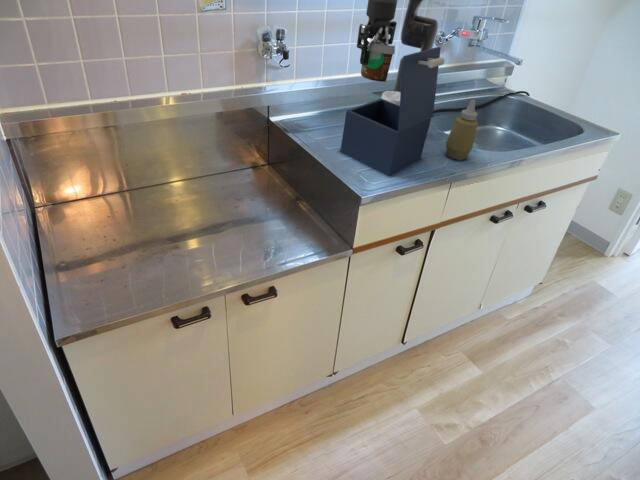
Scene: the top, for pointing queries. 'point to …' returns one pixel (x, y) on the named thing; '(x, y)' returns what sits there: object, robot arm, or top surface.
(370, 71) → the food container
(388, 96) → the cup
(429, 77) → the tub lid
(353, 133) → the dish tub
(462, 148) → the squeeze bottle
